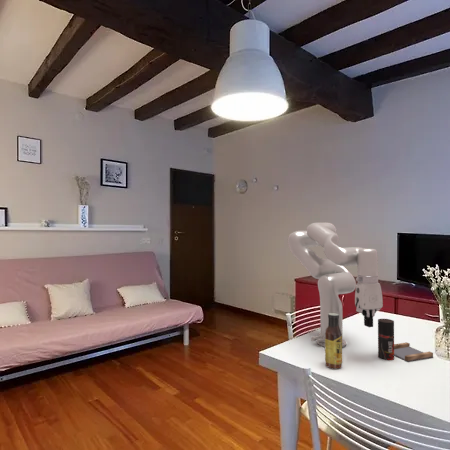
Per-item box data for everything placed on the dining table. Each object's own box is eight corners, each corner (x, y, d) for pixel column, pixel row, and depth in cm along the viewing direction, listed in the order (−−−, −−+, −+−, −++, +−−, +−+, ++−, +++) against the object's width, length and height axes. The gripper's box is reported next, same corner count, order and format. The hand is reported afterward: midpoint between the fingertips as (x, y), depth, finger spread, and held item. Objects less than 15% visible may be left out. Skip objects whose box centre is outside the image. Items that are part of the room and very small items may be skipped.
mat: (407, 362, 135) (407, 360, 135) (383, 350, 148) (383, 349, 148) (433, 357, 139) (433, 356, 139) (406, 346, 152) (406, 345, 152)
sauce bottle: (340, 371, 128) (339, 317, 128) (323, 367, 131) (322, 315, 131) (344, 364, 133) (343, 313, 133) (327, 361, 137) (327, 311, 136)
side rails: (407, 362, 135) (407, 357, 135) (383, 350, 148) (382, 345, 148) (433, 357, 139) (433, 352, 139) (406, 346, 152) (406, 342, 152)
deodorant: (387, 361, 136) (387, 323, 136) (374, 356, 141) (374, 319, 141) (397, 358, 139) (397, 321, 139) (384, 353, 144) (384, 317, 144)
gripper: (358, 282, 131) (359, 330, 131) (390, 279, 136) (391, 326, 135) (345, 279, 138) (346, 325, 138) (376, 277, 143) (377, 322, 143)
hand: (368, 326), depth 137 cm, fingers closed
